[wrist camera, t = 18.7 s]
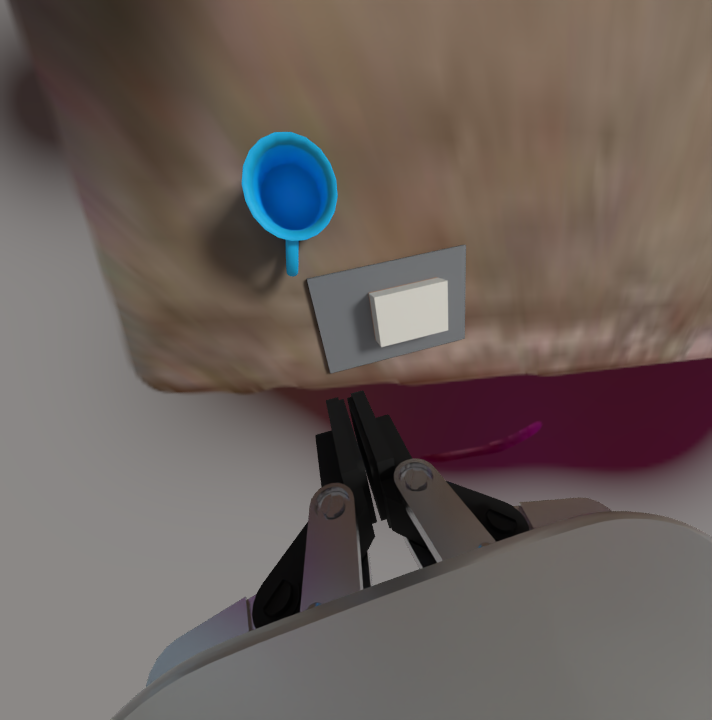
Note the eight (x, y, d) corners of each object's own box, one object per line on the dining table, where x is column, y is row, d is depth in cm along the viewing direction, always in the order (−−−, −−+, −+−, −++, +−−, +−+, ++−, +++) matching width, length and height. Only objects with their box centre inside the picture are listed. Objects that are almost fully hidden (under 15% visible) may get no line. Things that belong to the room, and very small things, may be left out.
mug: (250, 149, 28) (237, 122, 21) (328, 161, 30) (340, 140, 23) (258, 269, 33) (249, 280, 26) (324, 273, 35) (333, 284, 28)
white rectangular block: (374, 297, 34) (447, 280, 35) (368, 292, 37) (436, 277, 38) (381, 347, 37) (448, 330, 38) (375, 339, 40) (438, 323, 41)
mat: (306, 278, 35) (307, 279, 34) (463, 244, 37) (465, 245, 37) (330, 371, 41) (330, 373, 41) (462, 337, 44) (464, 338, 43)
